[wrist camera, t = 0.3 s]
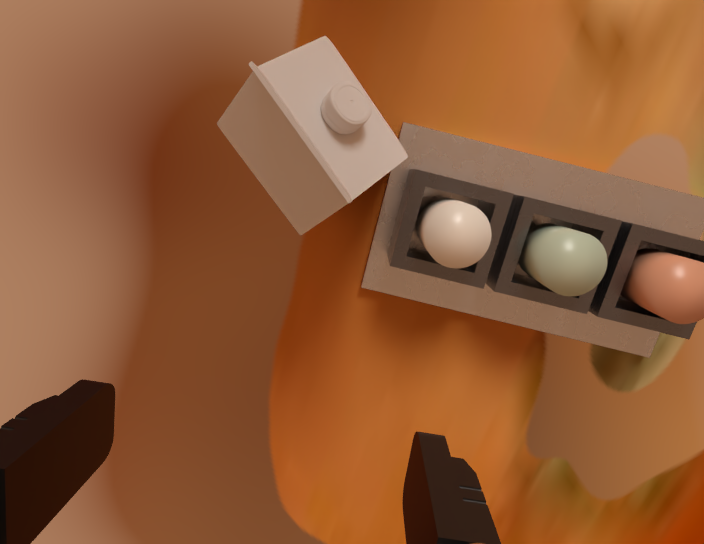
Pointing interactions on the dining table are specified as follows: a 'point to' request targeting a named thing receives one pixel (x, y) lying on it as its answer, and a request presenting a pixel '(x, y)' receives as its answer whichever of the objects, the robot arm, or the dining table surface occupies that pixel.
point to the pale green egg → (563, 259)
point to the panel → (511, 230)
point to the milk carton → (310, 133)
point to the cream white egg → (454, 232)
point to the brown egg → (666, 285)
